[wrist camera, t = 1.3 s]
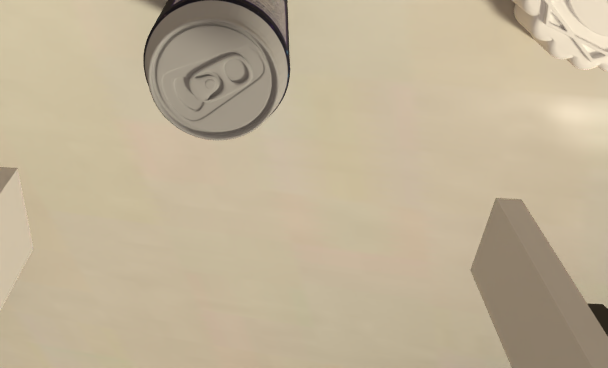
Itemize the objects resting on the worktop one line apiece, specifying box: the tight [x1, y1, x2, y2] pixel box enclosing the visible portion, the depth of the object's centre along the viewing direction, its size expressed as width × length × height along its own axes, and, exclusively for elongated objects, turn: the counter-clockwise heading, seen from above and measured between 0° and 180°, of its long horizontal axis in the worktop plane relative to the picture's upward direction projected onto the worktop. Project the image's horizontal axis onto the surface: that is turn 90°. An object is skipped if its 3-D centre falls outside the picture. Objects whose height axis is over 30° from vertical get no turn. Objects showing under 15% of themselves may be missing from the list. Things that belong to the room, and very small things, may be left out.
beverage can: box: [144, 0, 290, 140], centre depth 26 cm, size 6×6×12 cm
